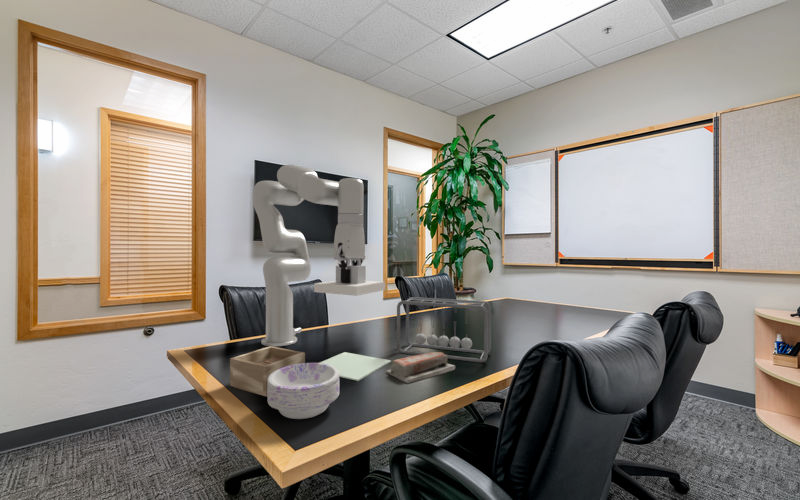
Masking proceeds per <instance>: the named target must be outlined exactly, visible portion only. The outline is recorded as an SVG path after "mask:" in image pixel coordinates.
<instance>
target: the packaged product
mask: <svg viewBox="0 0 800 500" xmlns="http://www.w3.org/2000/svg"><path fill="white" fill-rule="evenodd" d="M424 353H425V354H421V355H411V356H408V357H407V356H406V357H403V358H398V359H394V360H391V366H390V369H386V370H385V372H386V374H387V375H390V376H392V377H393V378H396V379H398V380H400V381H401V382H403V383H406V384H411V383H414V382H417V381H422V380H425V379H428V378H432V377H436V376H439V375H442V374H447V373H449V372H452V371H453V372H454V371H455V370H456V365H455V364H451V363H448V359H447V356H446V355H447V354H445V353H444V352H441V351H439V352H438V351H437V352H436V351H431V352H424Z"/></svg>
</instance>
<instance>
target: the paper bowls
mask: <svg viewBox="0 0 800 500" xmlns="http://www.w3.org/2000/svg"><path fill="white" fill-rule="evenodd" d="M267 381H268V382H267V392H268V393H267V396H266V397H267V403H268V405H269V406H270V407H271V408H272V409H275V410H278V412H279V413H280V414H281V415H282V416H283V417H285V418H287V419H293V420H305V419H309V418H314V417H317V416H318V415H321V414H322V413H324V412H325V411H326V410H327V409H328V407H329V406H330V404H332V403H333V402H335V400H336V399H338V397H339V395H340V389H341V388H340V377H339V371H338V369H337V368H335V367H333V366H331V365H328V364H323V363H320V362H305V363H301V364H294V365H290V366H286V367H283V368H280V369H278V370H276V371H274V372H273V373H272V374H271V375H270V376H269V377H268V379H267Z"/></svg>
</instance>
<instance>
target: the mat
mask: <svg viewBox="0 0 800 500" xmlns="http://www.w3.org/2000/svg"><path fill="white" fill-rule="evenodd" d="M319 363H323V364H328V365H331V366H333V367H335V368H337V369H338V371H339V378H342V379H347V380H352V381H356V382H359V381H361V380H362V379H364V378H366V377H368V376H369V375H371V374H373V373H375V372H376V371H378V370H380V369H381V368H384V367H385V366H387V365H388V364H390V363H392V360H390V359H385V358H380V357H374V356H367V355H363V354H358V353H357V354H356V353H351V352H346V351H344V352H342V353H339V354H337V355H334V356H332V357H330V358H328V359H325V360H323V361H319Z"/></svg>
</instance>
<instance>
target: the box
mask: <svg viewBox="0 0 800 500" xmlns="http://www.w3.org/2000/svg"><path fill="white" fill-rule="evenodd" d="M301 363H306V352H304V351H297V350H293V349H287V348H282V347H279V346H276V347H273V346H265V347H262V348H260V349H256V350H253V351H250V352H248V353H244V354H240V355H238V356H234V357H231V358H230V359H229V367H230V368H229V386H230V387H233V388H236V389H239V390H242V391H246V392H249V393H252V394H257V395H259V396H263V397H267V393H268V392H267V382H268V381H267V379H268V377H269V376H270V375H271V374H272V373H273V372H274V371H276V370H278V369H280V368H283V367H286V366H290V365H294V364H301Z"/></svg>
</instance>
